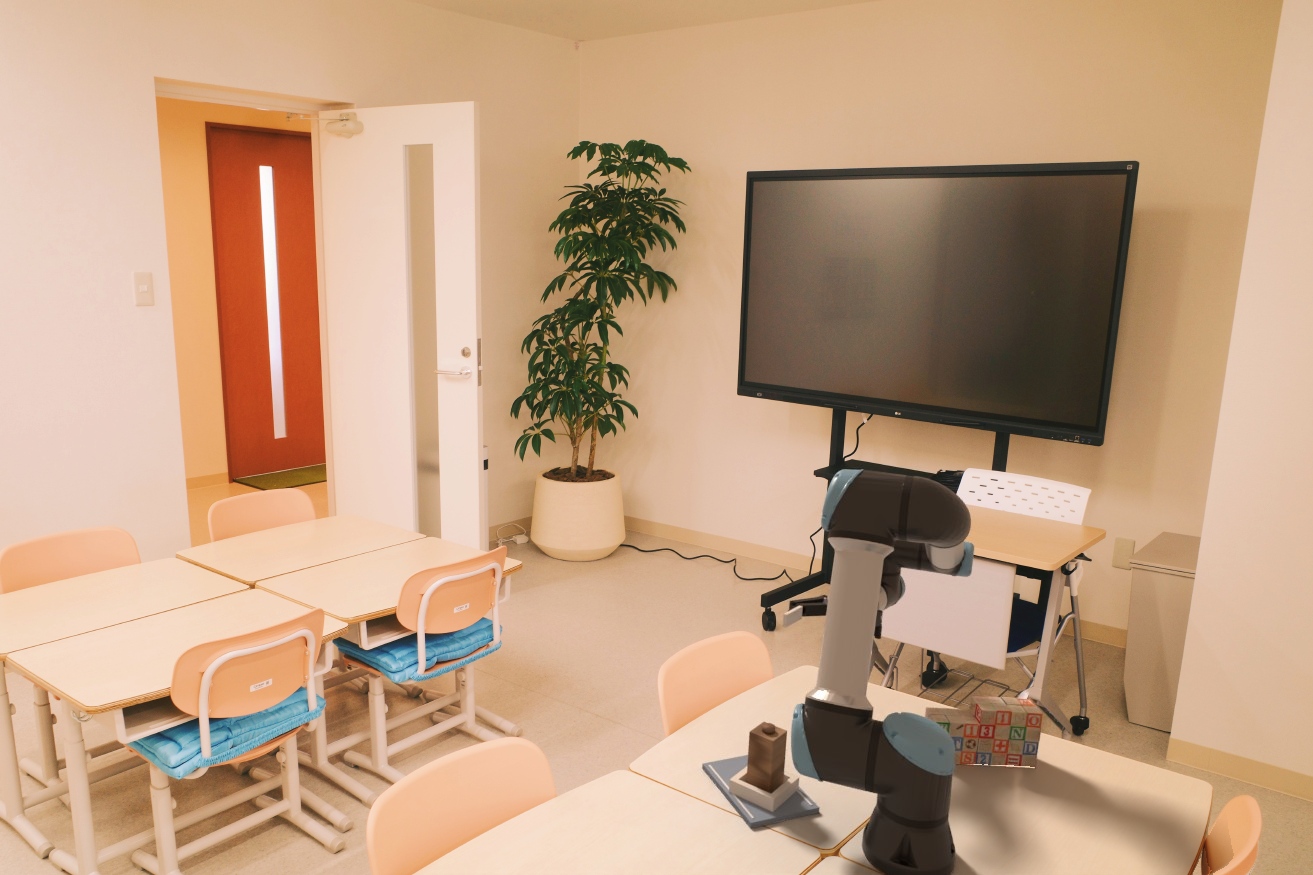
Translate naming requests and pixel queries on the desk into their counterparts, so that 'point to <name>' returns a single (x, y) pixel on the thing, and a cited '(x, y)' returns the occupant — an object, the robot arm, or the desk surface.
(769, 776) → the pillar
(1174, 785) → the desk surface
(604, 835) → the desk surface
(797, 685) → the desk surface
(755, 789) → the socket collar
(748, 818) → the board
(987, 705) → the stack of blocks
